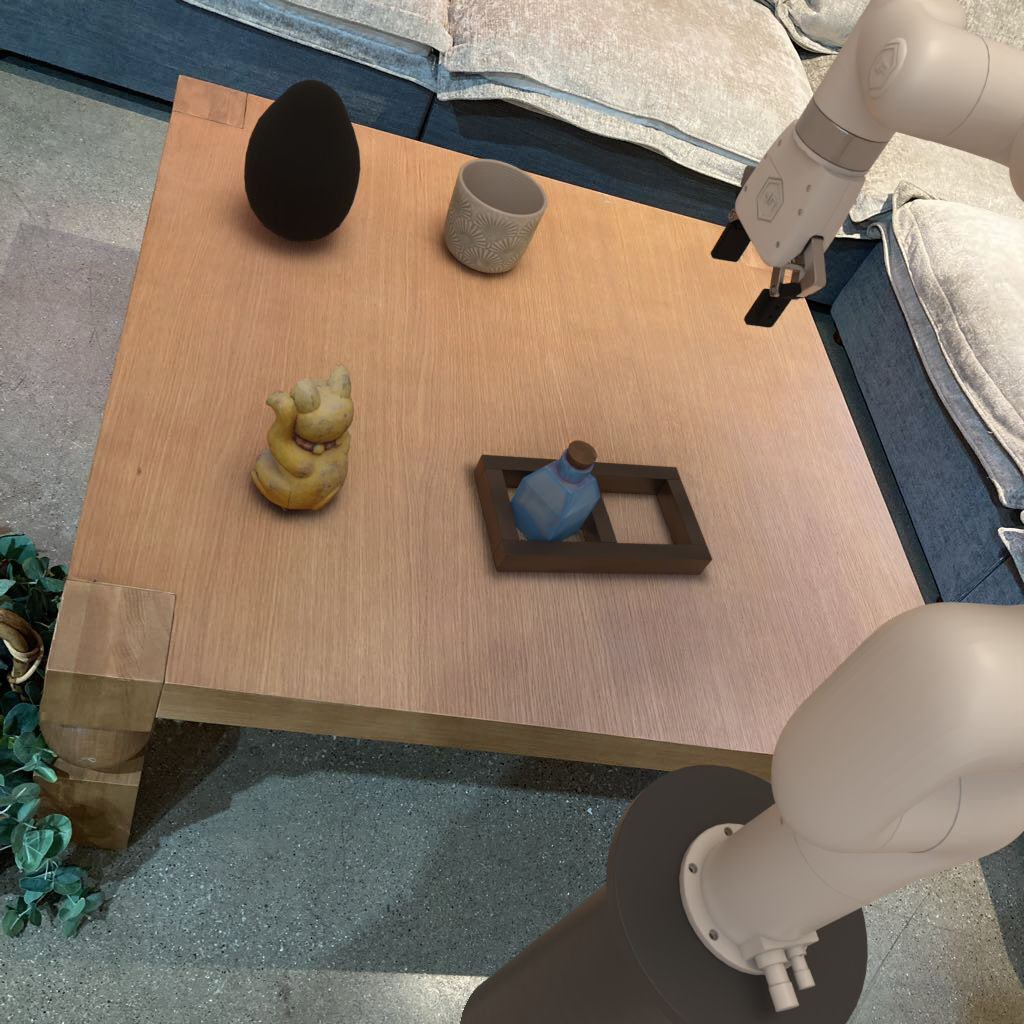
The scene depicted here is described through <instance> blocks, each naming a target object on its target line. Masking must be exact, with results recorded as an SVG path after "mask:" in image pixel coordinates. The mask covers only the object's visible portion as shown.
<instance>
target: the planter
mask: <svg viewBox="0 0 1024 1024" xmlns="http://www.w3.org/2000/svg"><path fill="white" fill-rule="evenodd" d="M454 183H455V184H454V186H453V190H452V194H451V196H450V201H449V204H448V208H447V211H446V215H445V216H446V217H445V221H444V228H443V233H444V234H443V237H444V242H445V245H446V247H447V249H448V251H449V252H450V253H451V254H452V256H453V257H454V258H455V259H456V260H457V261H459V262H460V263H461V264H463V265H464V266H466V267H468V268H469V269H472V270H475V271H477V272H481V273H486V274H500V273H505V272H508V271H509V270H511V269H513V268H514V267H515V266H516V265H517V264H519V263H520V261H521V260H522V257H523V256H524V255H525V253H526V252H527V249H528V248H529V245H530V243H531V241H532V240H533V237H534V235H535V234H536V231H537V229H538V227H539V224H540V222H541V221H542V218H543V216H544V214H545V212H546V210H547V207H548V197H547V194H546V192H545V190H544V188H543V186H542V185H541V184H540V183H539V182H538V181H537V180H536V179H535V178H533V177H532V176H531V175H530V174H528V172H526V171H524V170H522V169H521V168H519V167H516V166H515V165H512V164H510V163H507V162H504V161H501V160H498V159H491V158H476V159H470V160H468V161H466V162H464V163H463V164H462V165H461V167H459V170H458V173H457V177H456V180H455V182H454Z"/></svg>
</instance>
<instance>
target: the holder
mask: <svg viewBox="0 0 1024 1024" xmlns="http://www.w3.org/2000/svg"><path fill="white" fill-rule="evenodd" d="M558 459H559V458H558ZM558 459H557V458H542V457H529V456H527V457H526V456H514V455H513V456H511V455H496V454H481V455H480V457H479V459H478V461H477V464H476V466H475V468H474V470H473V475H474V479H475V483H476V486H477V491H478V495H479V500H480V504H481V509H482V513H483V517H484V521H485V525H486V530H487V534H488V538H489V539H488V540H489V542H490V548H491V552H492V555H493V559H494V564H495V568H496V569H495V570H496V571H497V572H515V573H516V572H523V573H525V572H527V573H531V572H532V573H589V574H593V573H594V574H597V573H598V574H650V575H651V574H657V575H659V574H660V575H661V574H662V575H701V574H702V573H703V572H704V570H705V569H706V568H707V567H708V566H709V565H710V563H711V562H712V561H713V556H712V554H711V551H710V549H709V547H708V545H707V542H706V539H705V537H704V534H703V532H702V529H701V526H700V524H699V522H698V519H697V517H696V513H695V511H694V508H693V506H692V504H691V502H690V499H689V496H688V493H687V491H686V488H685V486H684V483H683V481H682V478H681V475H680V472H679V470H678V468H677V467H676V466H667V465H666V466H665V465H649V464H648V465H647V464H635V463H633V464H632V463H618V462H603V461H595V462H594V466H593V468H592V470H591V472H590V474H591V475H592V476H593V477H594V478H595V479H596V483H597V487H598V491H599V495H600V498H599V500H598V501H597V503H596V504H595V506H594V507H593V509H592V511H591V512H590V514H589V515H588V517H587V519H586V520H585V522H584V523H583V525H582V526H581V530H582V534H583V537H584V539H585V541H573V540H572V541H571V540H570V541H567V540H566V541H565V540H563V541H538V540H528V539H520V535H519V531H518V528H517V527H516V523H515V519H514V515H513V511H512V507H511V504H510V502H511V500H510V496H509V492H508V488H518V487H519V485H520V483H521V481H522V479H523V478H524V477H526V476H528V475H530V474H532V473H533V472H535V471H537V470H539V469H541V468H543V467H545V466H547V465H549V464H550V463H552V462H554V461H556V460H558ZM602 493H617V494H637V495H654V496H655V495H656V497H657V501H658V503H659V506H660V509H661V512H662V514H663V517H664V520H665V522H666V525H667V528H668V530H669V533H670V536H671V538H672V541H673V543H672V544H671V543H667V544H666V543H639V542H637V543H635V542H618V541H617V537H616V534H615V531H614V528H613V525H612V522H611V519H610V516H609V514H608V510H607V508H606V503H605V500H604V498H603V495H602Z"/></svg>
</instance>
